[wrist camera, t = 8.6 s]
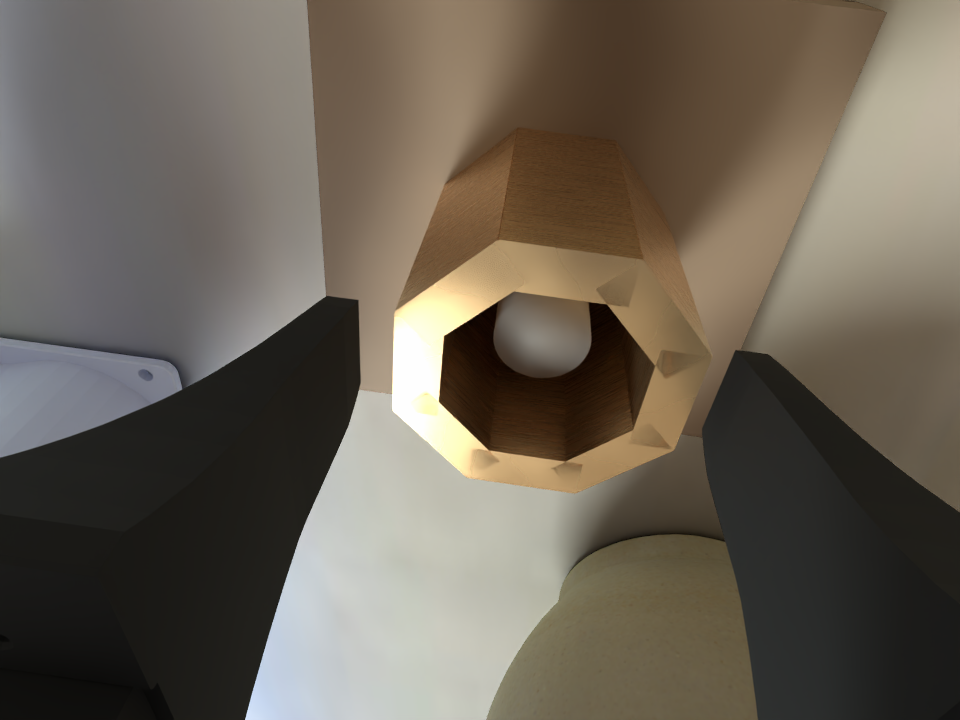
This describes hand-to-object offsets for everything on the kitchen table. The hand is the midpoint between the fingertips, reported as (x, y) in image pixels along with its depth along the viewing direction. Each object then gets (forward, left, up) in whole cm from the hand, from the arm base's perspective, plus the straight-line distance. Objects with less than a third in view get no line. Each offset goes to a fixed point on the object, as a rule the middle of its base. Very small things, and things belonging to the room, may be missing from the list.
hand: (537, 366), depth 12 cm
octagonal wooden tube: (0, 0, -5) cm, 5 cm away
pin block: (0, 0, -7) cm, 7 cm away
